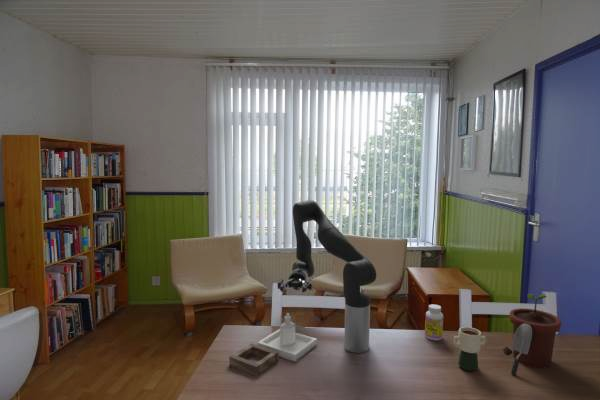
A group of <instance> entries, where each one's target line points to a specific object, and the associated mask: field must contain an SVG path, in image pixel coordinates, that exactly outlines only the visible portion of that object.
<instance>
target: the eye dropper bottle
mask: <svg viewBox="0 0 600 400" xmlns="http://www.w3.org/2000/svg"><path fill="white" fill-rule="evenodd" d="M279 329H280V344H281V345H282V346H290V345H293V344H295V332H296V323H294V322H293V321H292V317H291V315H290V314H289V313H286V315H285V316H284V322H283V323H281V324H280V325H279Z"/></svg>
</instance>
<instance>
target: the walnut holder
mask: <svg viewBox="0 0 600 400" xmlns="http://www.w3.org/2000/svg"><path fill="white" fill-rule="evenodd" d="M252 355H254V356H256V357H259V358H261V359H260V360H258V361H257V362H254V361H253V360H252V361H251V360H248V358H250V357H251V356H252ZM278 361H279V356H278V352H276V351H273V350H270V349H267V348H264V347H261V346H258V345H257V344H256V343H249V344H248V345H247V346H245V347H243V348H242V349H240V350H238V351H237V352H235V353H233V354H231V355H229V362H228V363H229V366H230V367H233V368H236V369H239V370H241V371H244V372H247V373H249V374H251V375H255V376H258V375H260V374H261V373H263V372H264V371H265V370H267V369H268V368H269V367H271V366H272V365H274V364H275V363H277V362H278Z"/></svg>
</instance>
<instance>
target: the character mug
mask: <svg viewBox="0 0 600 400" xmlns="http://www.w3.org/2000/svg"><path fill="white" fill-rule="evenodd" d="M486 340H487V339H486V336H485V335H482V332H481V330H479V329H477V328H474V327H470V326H462V327H459V329H458V335H454V336H453V342H452V343H453V346H457V347H458V349H460V352H459V356H458V365H459V367H461V368H463V369H465V370H467V371H476V370H478V368H479V359H478V357H479V356H478V353H480V351H481V348H482V346H485V345H486Z"/></svg>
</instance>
